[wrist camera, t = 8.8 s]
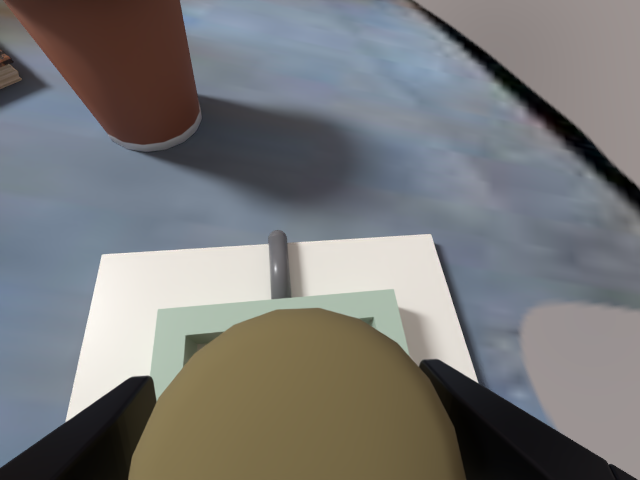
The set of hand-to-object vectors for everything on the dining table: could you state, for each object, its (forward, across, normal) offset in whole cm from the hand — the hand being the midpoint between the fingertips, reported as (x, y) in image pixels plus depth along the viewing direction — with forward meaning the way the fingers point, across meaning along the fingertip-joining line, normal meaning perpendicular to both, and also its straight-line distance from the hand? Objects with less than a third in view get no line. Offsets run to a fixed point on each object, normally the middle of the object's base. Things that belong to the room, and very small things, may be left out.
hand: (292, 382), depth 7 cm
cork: (+5, 0, +6) cm, 8 cm away
